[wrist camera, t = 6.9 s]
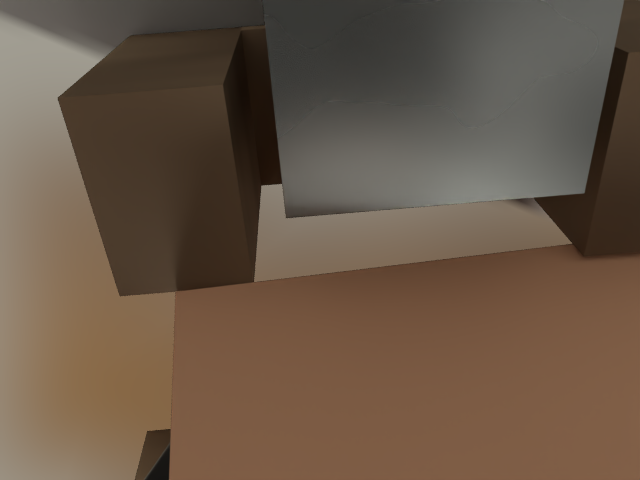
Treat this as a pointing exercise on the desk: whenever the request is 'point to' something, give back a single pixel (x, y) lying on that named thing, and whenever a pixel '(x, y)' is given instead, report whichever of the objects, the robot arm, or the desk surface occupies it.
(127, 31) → the desk surface
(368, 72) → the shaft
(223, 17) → the desk surface
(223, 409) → the block
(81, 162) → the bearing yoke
